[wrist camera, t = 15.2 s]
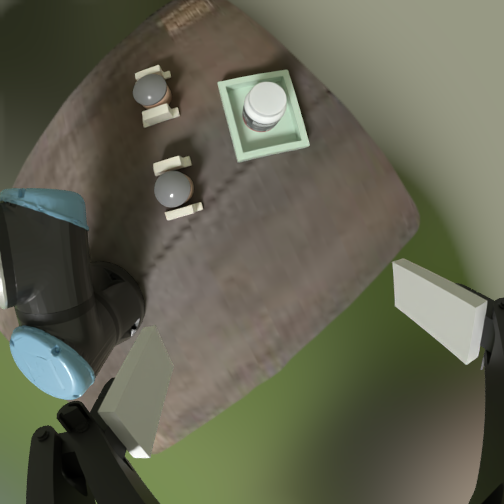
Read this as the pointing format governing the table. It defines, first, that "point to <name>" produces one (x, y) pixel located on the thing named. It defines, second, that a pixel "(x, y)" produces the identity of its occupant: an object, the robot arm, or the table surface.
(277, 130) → the tray
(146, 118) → the cream flat pieces
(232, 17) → the table surface
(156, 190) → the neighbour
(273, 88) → the pill bottle
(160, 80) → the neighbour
